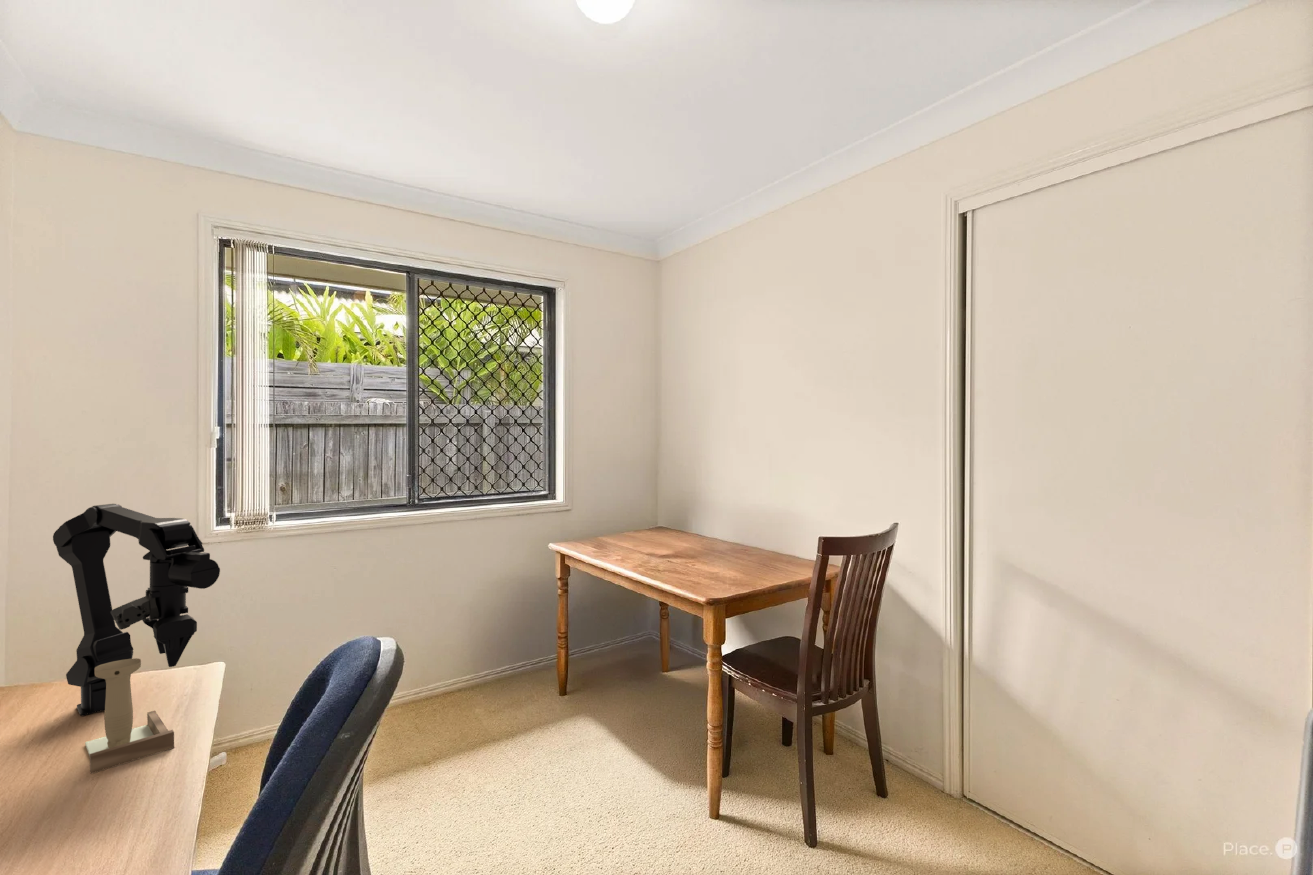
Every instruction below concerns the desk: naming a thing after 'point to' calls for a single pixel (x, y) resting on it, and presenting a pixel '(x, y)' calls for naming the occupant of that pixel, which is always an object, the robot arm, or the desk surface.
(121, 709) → the handle
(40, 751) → the desk surface
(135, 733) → the pad
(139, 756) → the walls
